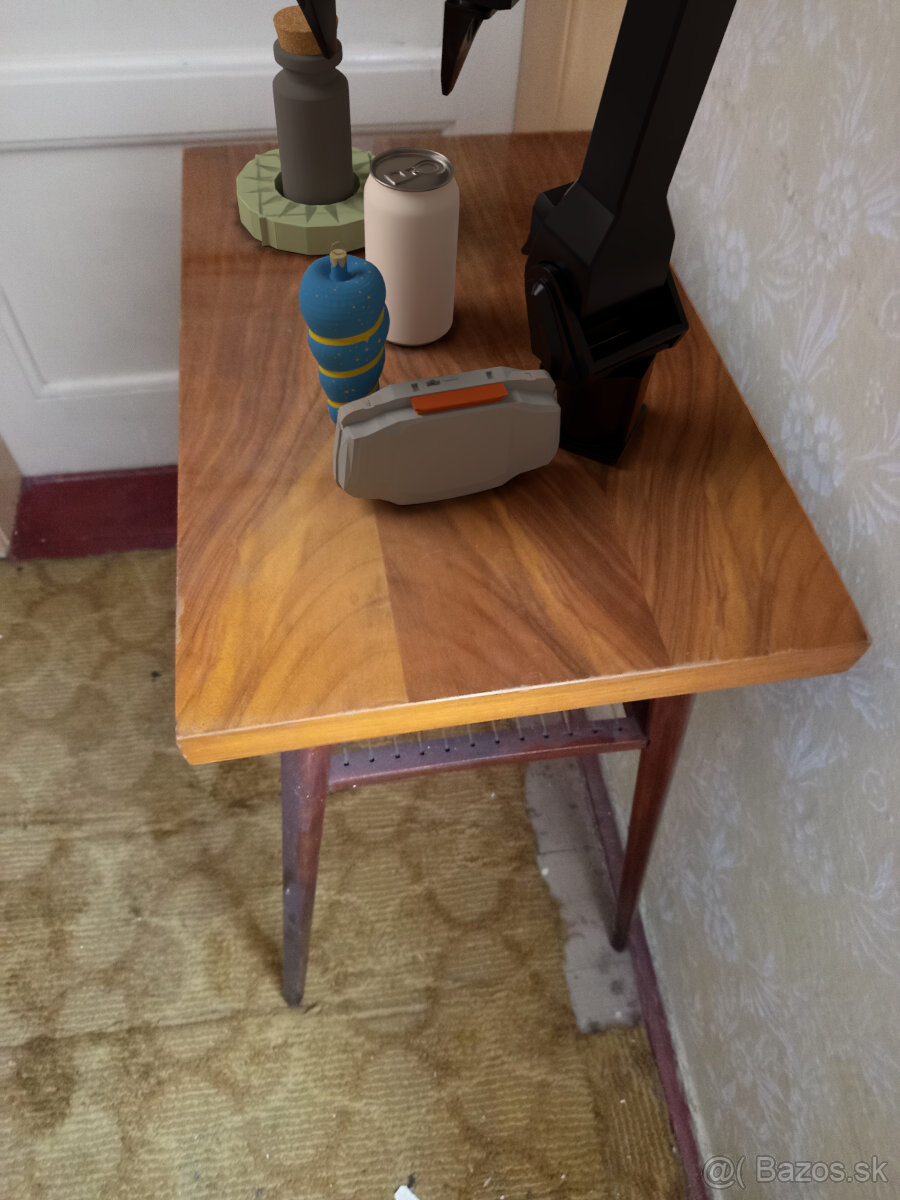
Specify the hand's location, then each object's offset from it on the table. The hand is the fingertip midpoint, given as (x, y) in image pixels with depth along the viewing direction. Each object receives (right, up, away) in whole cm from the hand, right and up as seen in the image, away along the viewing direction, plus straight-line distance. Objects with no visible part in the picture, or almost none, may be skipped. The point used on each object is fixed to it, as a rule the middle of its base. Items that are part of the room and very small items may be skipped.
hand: (388, 74), depth 65 cm
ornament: (-2, -27, -3) cm, 27 cm away
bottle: (-7, -4, +14) cm, 16 cm away
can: (+1, -16, +5) cm, 17 cm away
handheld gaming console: (+4, -30, -5) cm, 30 cm away
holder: (-7, -4, +14) cm, 16 cm away
